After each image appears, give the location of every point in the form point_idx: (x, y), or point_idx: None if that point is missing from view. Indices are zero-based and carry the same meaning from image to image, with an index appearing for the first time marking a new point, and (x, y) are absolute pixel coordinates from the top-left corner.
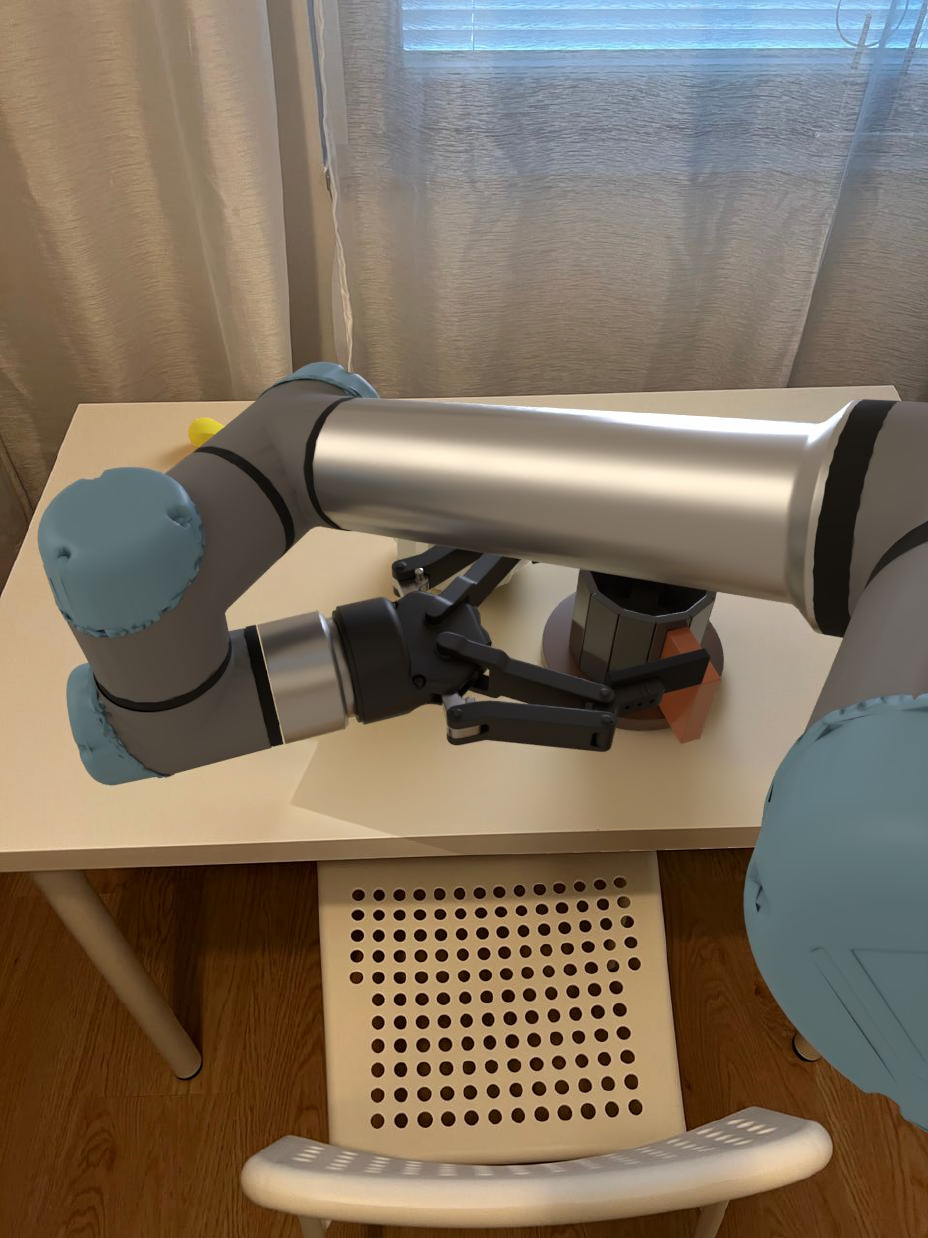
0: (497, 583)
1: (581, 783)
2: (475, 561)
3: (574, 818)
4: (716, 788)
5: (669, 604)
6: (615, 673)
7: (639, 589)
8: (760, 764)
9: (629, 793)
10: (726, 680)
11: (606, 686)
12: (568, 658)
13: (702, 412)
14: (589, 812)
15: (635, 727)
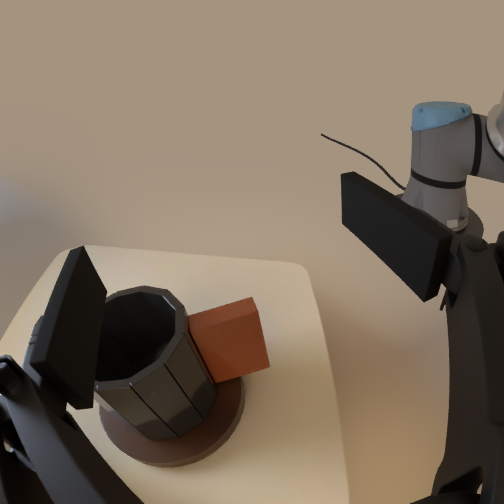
0: (125, 486)
1: (299, 447)
2: None
3: (335, 451)
4: (298, 353)
5: (137, 354)
6: (434, 231)
7: (118, 370)
8: (276, 327)
9: (307, 411)
10: None
11: (460, 244)
12: (166, 443)
13: (20, 316)
14: (328, 440)
15: (243, 402)
